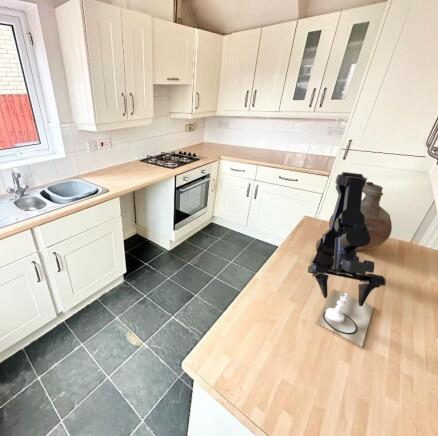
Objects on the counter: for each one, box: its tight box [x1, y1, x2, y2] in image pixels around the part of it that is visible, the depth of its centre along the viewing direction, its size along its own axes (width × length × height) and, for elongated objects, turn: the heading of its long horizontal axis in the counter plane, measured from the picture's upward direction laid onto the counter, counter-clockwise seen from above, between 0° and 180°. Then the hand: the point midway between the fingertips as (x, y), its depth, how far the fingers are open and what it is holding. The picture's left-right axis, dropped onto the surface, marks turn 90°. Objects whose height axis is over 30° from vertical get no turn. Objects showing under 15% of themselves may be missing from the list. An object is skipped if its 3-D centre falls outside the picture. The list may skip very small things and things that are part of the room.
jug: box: [328, 181, 393, 251], centre depth 107 cm, size 22×22×30 cm
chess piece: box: [326, 292, 348, 322], centre depth 76 cm, size 5×5×10 cm
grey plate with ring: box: [318, 289, 374, 348], centre depth 79 cm, size 11×20×1 cm, turn 134°
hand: (342, 302), depth 75 cm, fingers open, 9 cm apart
